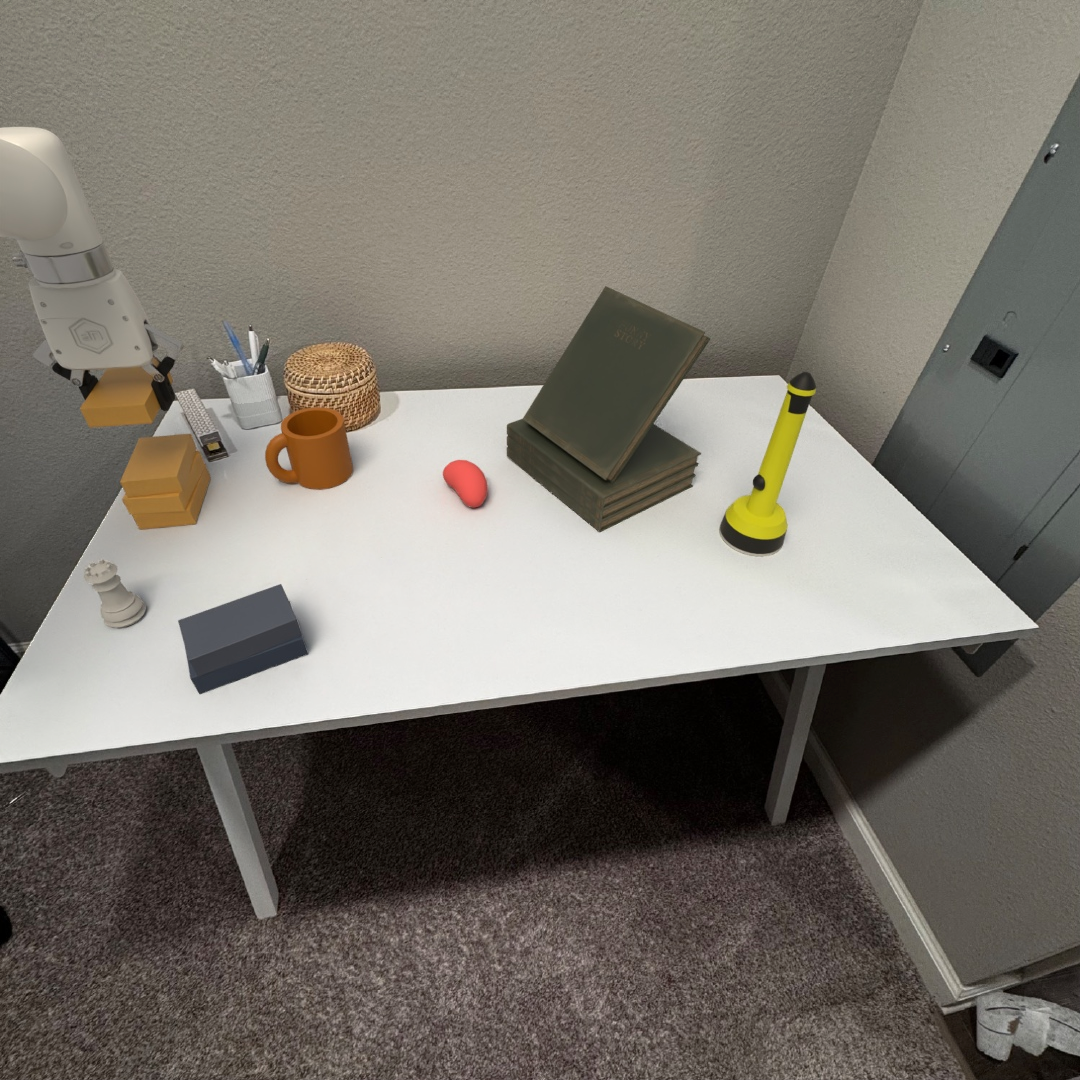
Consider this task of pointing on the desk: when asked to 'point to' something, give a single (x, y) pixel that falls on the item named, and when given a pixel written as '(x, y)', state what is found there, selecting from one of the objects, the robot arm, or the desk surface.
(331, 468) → the mug
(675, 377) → the olive book stack
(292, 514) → the desk surface
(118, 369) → the orange tan block
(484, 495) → the red kidney bean
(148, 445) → the tan block stack
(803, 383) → the flashlight
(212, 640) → the slate books
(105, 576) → the rook chess piece
